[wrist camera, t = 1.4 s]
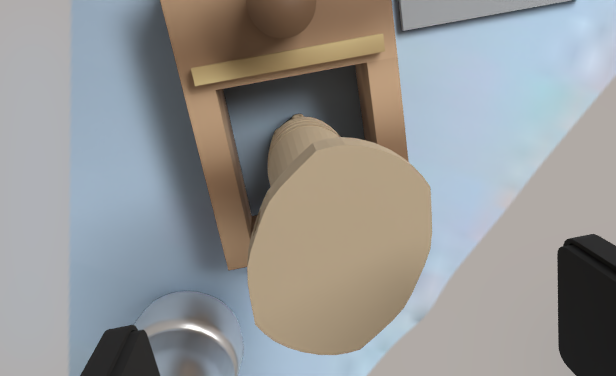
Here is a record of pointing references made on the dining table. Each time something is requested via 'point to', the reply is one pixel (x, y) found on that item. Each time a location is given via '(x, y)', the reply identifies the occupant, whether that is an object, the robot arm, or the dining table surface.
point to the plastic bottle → (193, 335)
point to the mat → (457, 10)
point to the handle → (335, 239)
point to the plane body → (273, 65)
